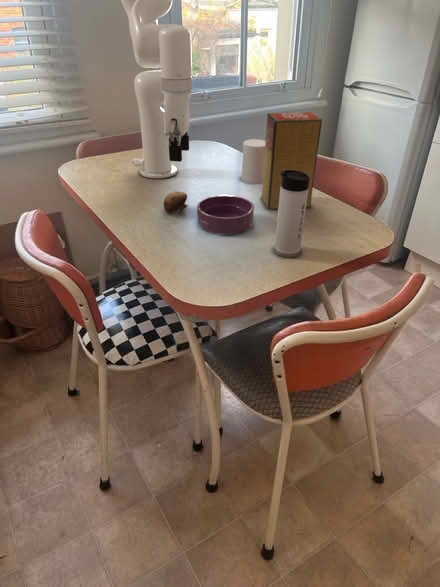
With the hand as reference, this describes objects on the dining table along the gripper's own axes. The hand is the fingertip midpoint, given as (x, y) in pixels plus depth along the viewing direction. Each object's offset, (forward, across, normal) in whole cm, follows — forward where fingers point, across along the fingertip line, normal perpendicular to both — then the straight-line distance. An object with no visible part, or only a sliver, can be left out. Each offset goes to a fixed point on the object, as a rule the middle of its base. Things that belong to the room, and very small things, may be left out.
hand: (179, 155), depth 118 cm
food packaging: (+16, -11, +30) cm, 35 cm away
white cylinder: (+16, -29, +19) cm, 38 cm away
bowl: (+16, +6, +13) cm, 22 cm away
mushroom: (+16, +1, -2) cm, 16 cm away
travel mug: (+17, +19, +30) cm, 39 cm away
